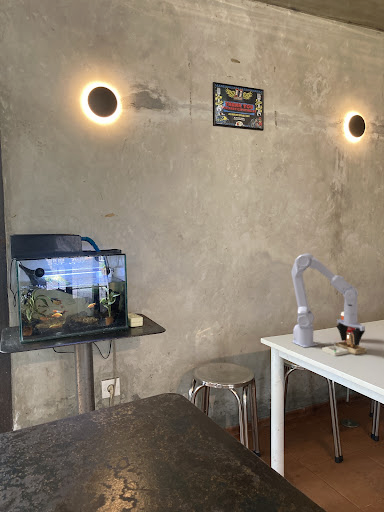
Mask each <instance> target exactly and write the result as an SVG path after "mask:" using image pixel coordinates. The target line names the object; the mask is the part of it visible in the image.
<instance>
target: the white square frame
mask: <svg viewBox="0 0 384 512" xmlns="http://www.w3.org/2000/svg"><path fill="white" fill-rule="evenodd" d="M321 352H323V353H326V354H329V355H331V356H333V357H337V356H343V355H347V354H349V353H348V350H347V349H344V348H341V347H338V346H336V345H335V344H334V345H329V346H325V347H321Z"/></svg>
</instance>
